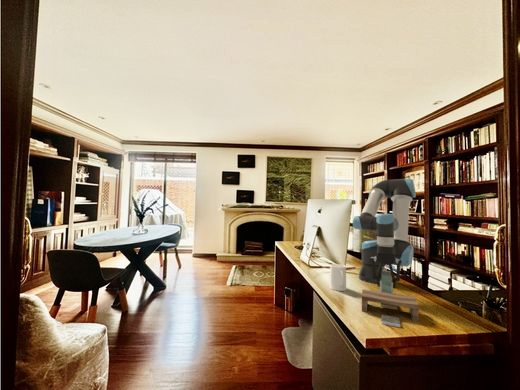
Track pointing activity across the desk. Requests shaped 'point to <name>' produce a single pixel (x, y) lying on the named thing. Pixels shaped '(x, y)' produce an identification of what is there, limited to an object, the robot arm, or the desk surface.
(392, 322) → the tile
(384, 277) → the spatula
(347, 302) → the desk surface
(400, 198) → the robot arm
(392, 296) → the riser
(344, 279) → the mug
